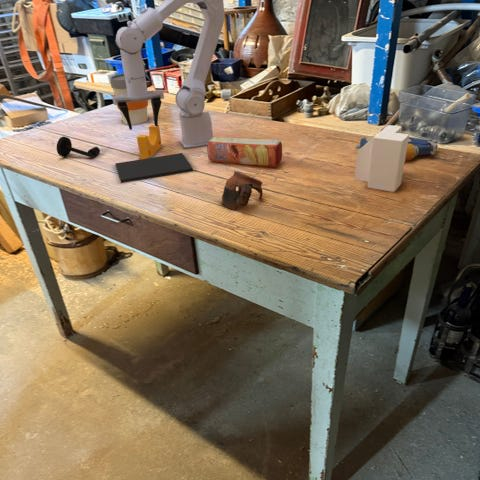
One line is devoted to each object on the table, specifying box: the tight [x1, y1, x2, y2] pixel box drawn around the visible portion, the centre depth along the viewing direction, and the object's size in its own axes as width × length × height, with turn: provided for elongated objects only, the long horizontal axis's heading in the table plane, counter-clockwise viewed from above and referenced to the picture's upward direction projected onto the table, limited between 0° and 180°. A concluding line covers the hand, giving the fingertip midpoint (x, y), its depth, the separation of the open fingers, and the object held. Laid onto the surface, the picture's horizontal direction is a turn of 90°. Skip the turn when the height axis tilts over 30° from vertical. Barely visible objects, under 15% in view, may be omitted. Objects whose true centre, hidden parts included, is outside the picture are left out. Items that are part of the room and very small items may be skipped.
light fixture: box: [56, 136, 101, 159], centre depth 147 cm, size 6×11×13 cm
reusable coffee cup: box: [109, 73, 149, 126], centre depth 170 cm, size 13×13×15 cm
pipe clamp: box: [136, 124, 163, 159], centre depth 144 cm, size 12×4×6 cm, turn 168°
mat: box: [115, 152, 194, 183], centre depth 135 cm, size 20×14×1 cm
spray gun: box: [355, 135, 439, 162], centre depth 133 cm, size 21×4×15 cm
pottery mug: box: [221, 170, 264, 211], centre depth 111 cm, size 12×10×8 cm
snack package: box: [206, 136, 283, 168], centre depth 132 cm, size 21×7×7 cm, turn 67°
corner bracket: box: [354, 124, 410, 193], centre depth 116 cm, size 11×11×12 cm
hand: (143, 127), depth 141 cm, fingers open, 7 cm apart
